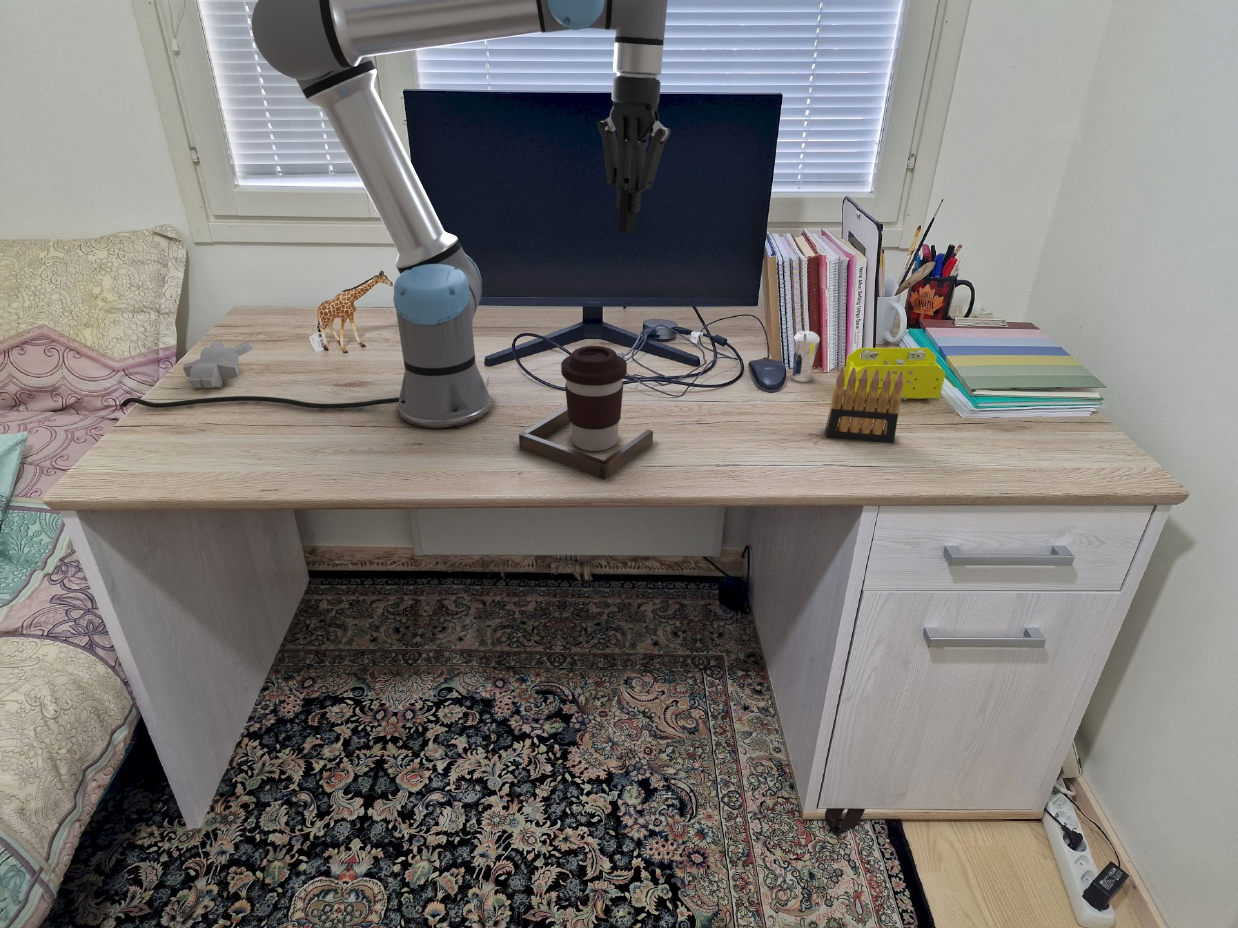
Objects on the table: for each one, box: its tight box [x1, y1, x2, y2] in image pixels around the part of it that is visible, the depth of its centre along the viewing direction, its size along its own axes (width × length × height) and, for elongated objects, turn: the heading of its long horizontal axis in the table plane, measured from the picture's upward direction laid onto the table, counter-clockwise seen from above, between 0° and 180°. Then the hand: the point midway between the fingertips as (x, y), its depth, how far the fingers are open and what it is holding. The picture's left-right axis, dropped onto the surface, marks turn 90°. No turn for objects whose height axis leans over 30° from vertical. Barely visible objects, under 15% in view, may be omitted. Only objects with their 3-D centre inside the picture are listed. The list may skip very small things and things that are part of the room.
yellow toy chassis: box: [843, 347, 946, 401], centre depth 135 cm, size 16×6×8 cm, turn 91°
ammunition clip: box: [824, 366, 903, 444], centre depth 120 cm, size 11×2×12 cm, turn 80°
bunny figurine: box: [182, 341, 254, 389], centre depth 141 cm, size 10×5×15 cm
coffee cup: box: [560, 345, 628, 452], centre depth 118 cm, size 10×10×15 cm
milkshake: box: [792, 330, 821, 383], centre depth 140 cm, size 5×5×10 cm
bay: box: [518, 405, 654, 480], centre depth 119 cm, size 13×16×2 cm
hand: (626, 231), depth 129 cm, fingers closed
